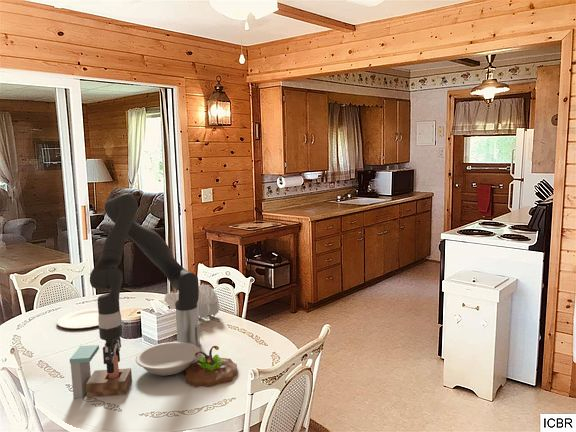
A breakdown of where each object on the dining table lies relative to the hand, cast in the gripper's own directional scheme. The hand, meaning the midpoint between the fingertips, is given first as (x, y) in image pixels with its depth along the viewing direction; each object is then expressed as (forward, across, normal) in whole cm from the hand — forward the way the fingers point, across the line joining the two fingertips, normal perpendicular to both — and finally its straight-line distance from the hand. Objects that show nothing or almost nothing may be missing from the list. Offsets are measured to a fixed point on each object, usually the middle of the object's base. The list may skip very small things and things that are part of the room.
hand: (113, 367), depth 168 cm
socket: (+8, 0, -2) cm, 8 cm away
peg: (+8, 0, 0) cm, 8 cm away
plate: (+9, -75, -31) cm, 82 cm away
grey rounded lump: (+9, -66, +23) cm, 70 cm away
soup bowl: (+8, -12, +17) cm, 23 cm away
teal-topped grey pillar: (+8, 0, -10) cm, 12 cm away
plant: (+9, -6, +34) cm, 36 cm away
